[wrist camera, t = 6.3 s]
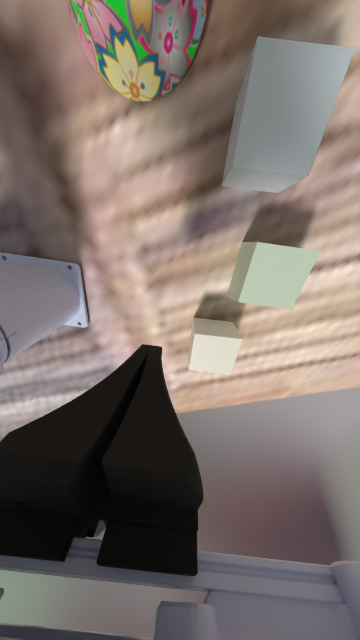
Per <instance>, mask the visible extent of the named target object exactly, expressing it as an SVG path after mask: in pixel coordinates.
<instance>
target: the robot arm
mask: <svg viewBox="0 0 360 640" xmlns="http://www.w3.org/2000/svg"><path fill="white" fill-rule="evenodd" d="M6 258H7V259H6ZM69 265H70V266H71V268H72V269H70V267H69ZM80 323H81V324H80ZM61 325H70V326H77V327H87V326H88V325H89V322H88V315H87V309H86V302H85V295H84V289H83V282H82V276H81V269H80V266H79V265H78V264H76V263H71V262H64V261H57V260H51V259H44V258H37V257H30V256H24V255H17V254H10V253H4V252H0V376H1V375H2V374H4V373H5V371H4V368H3V364H4V363H5V362H7V361H8V360H10V359H11V358H13V357H14V356H16V355H17V354H19V353H20V352H22V351H23V350H25V349H27V348H28V347H30V346H31V345H33V344H34V343H36V342H37V341H39V340H40V339H42V338H43V337H45V336H46V335H48V334H49V333H51V332H52V331H54V330H55V329H57V328H58V327H60V326H61ZM161 357H162V347H159V346H152V345H144V344H143V345H141V346H140V347H139V348H138V349H137V350H136V351H135V353H134V354H133V355H132V356H131V357H129V358H128V359H127V360H126V361H125V362H124V363H123V364H122V365H121V366H120V367H118V368H117V369H116V370H115V371H114V372H113V373H111V374H110V375H109V376H108V377H106V378H105V379H104V380H102V381H101V382H100V383H98V384H97V385H95V386H94V387H92V388H91V389H89V390H88V391H86V392H85V393H83V394H82V395H80V396H79V397H77V398H75V399H74V400H72V401H70V402H68V403H67V404H65V405H63V406H61V407H59V408H58V409H56V410H54V411H52V412H50V413H48V414H46V415H45V416H43V417H41V418H39V419H36V420H34V421H32V422H30V423H28V424H26V425H24V426H22V427H20V428H18V429H16V430H14V431H11V432H9V433H8V434H7V435H6V436H5V437H4V439H2V440H1V441H0V570H8V571H17V572H26V573H35V574H44V575H53V576H63V577H72V578H81V579H90V580H100V581H108V582H117V583H126V584H136V585H145V586H154V587H163V588H173V589H181V590H190V591H191V590H192V591H200V592H209V593H207V595H206V596H205V598H204V602H203V604H199V603H186V602H185V603H184V602H167V601H161V603H160V605H159V606H158V608H157V612H156V623H155V624H156V625H155V634H154V639H150V638H142V637H134V636H126V635H118V634H109V633H100V632H92V631H82V630H72V629H62V628H52V627H41V626H30V625H19V624H8V623H0V640H360V562H356V561H339V562H335V563H332V564H331V566H327V565H318V564H309V563H300V562H292V561H283V560H273V559H265V558H256V557H247V556H239V555H230V554H221V553H211V552H202V551H197V531H198V509H199V507H200V505H201V503H202V502H203V487H202V481H201V476H200V472H199V468H198V464H197V461H196V457H195V453H194V451H193V449H192V447H191V445H190V443H189V442H188V439H187V438H186V436H185V434H184V431H183V429H182V427H181V425H180V423H179V420H178V418H177V415H176V413H175V410H174V408H173V405H172V403H171V400H170V397H169V394H168V390H167V387H166V383H165V379H164V374H163V368H162V360H161ZM105 528H106V530H105V534H104V537H103V540H97V539H87V538H85V537H94V536H95V537H97V536H98V535H99V534H100V533H101V532H102V531H103V530H104V529H105ZM3 593H4V589H3V588H0V599H1V597H2V595H3Z"/></svg>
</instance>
